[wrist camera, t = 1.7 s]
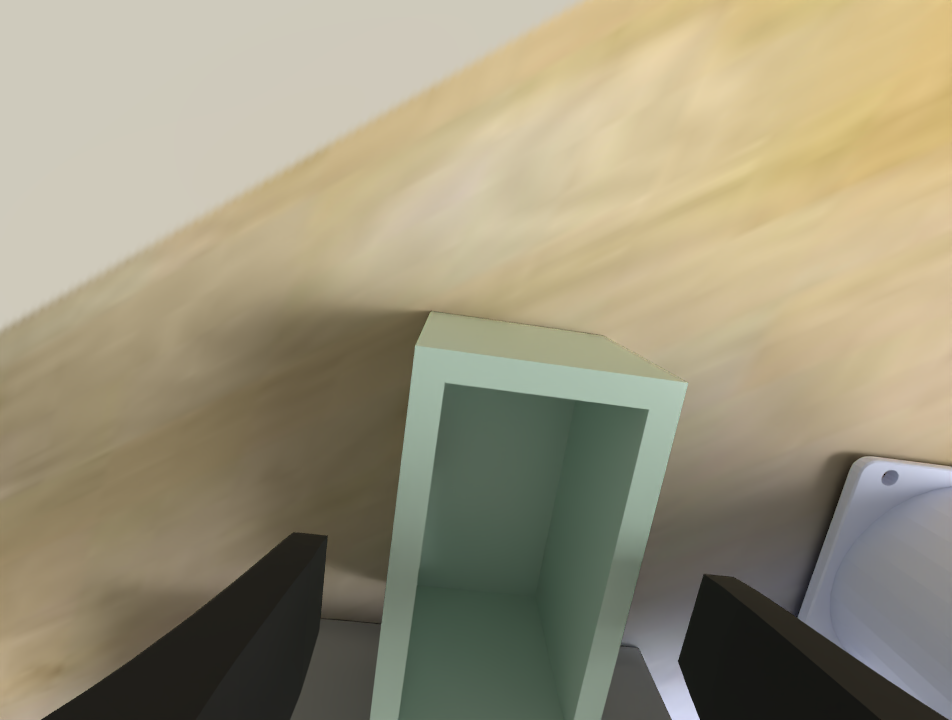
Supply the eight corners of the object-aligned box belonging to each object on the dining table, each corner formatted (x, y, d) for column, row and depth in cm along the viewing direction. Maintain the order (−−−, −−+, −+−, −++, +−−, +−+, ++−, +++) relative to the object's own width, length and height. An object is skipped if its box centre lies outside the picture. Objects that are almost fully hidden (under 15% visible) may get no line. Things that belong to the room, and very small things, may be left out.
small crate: (603, 335, 13) (688, 382, 8) (546, 600, 15) (589, 763, 10) (430, 311, 13) (414, 345, 8) (395, 586, 15) (366, 748, 10)
